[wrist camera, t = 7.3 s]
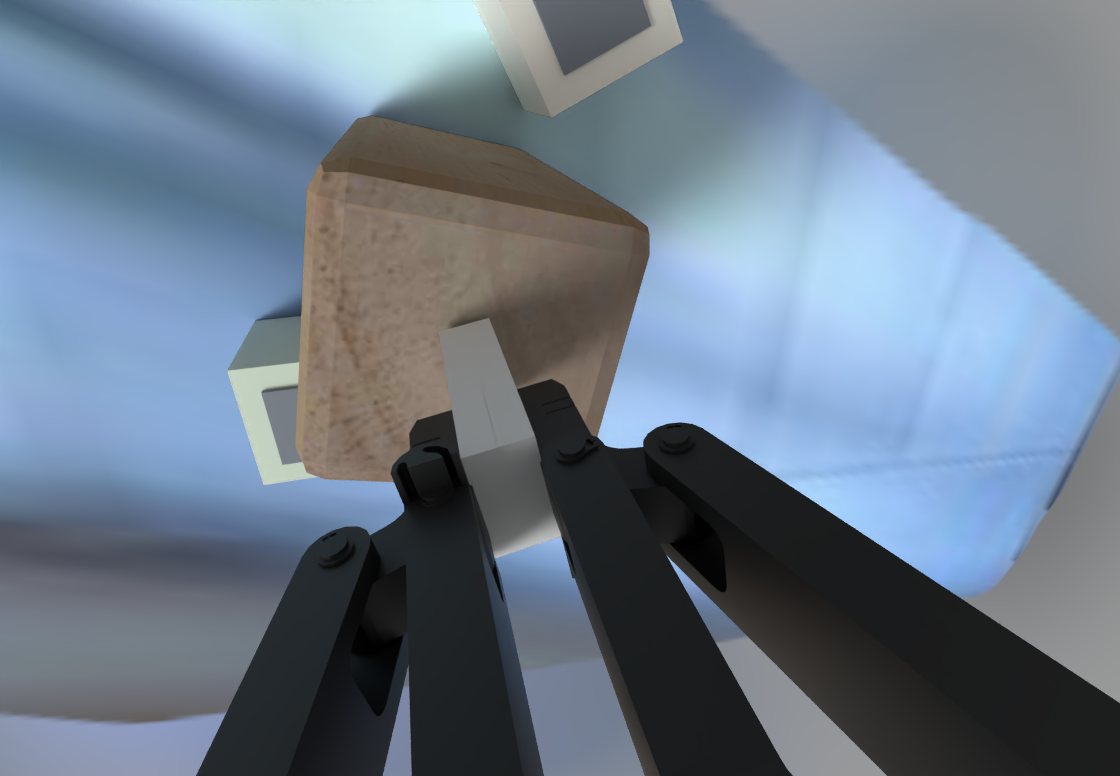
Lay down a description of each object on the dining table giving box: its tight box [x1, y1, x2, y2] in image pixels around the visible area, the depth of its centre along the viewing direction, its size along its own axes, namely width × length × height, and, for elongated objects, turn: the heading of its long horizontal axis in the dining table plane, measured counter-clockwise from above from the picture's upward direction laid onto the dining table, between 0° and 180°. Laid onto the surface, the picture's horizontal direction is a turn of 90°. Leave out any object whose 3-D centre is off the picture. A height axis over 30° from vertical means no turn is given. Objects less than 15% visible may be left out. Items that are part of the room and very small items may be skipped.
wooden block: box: [295, 116, 649, 482], centre depth 27 cm, size 10×10×20 cm
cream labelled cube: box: [472, 0, 683, 118], centre depth 29 cm, size 7×7×7 cm
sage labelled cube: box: [227, 316, 317, 485], centre depth 35 cm, size 7×7×7 cm
